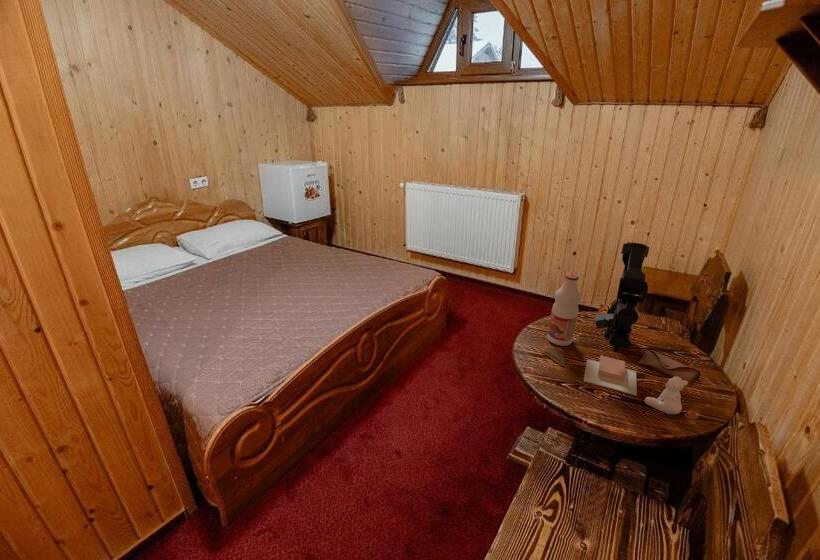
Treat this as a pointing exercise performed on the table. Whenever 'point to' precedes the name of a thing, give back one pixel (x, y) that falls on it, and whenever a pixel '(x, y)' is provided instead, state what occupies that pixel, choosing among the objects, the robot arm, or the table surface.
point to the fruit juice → (564, 312)
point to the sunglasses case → (669, 367)
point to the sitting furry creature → (669, 397)
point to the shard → (555, 354)
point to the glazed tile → (611, 369)
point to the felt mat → (625, 387)
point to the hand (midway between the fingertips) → (615, 351)
